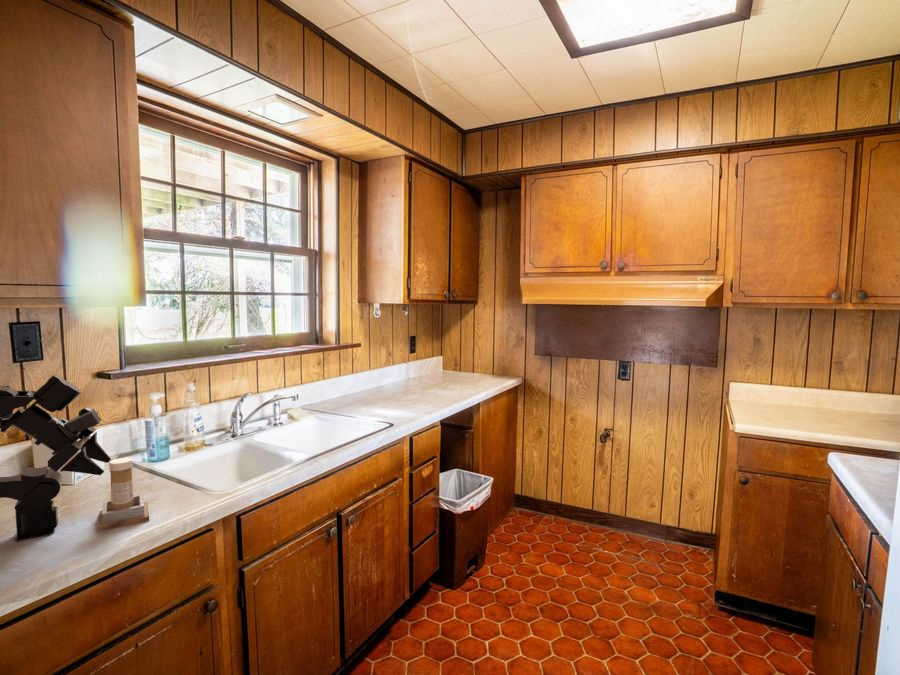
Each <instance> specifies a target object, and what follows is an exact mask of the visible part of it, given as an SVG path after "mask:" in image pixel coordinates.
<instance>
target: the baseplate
mask: <svg viewBox="0 0 900 675" xmlns="http://www.w3.org/2000/svg"><path fill="white" fill-rule="evenodd" d="M134 507H135V506H134ZM102 510H103V509H102ZM102 510H99V512H98V521H97V532H102V531H105V530H109V529H110V530H111V529H114V528H115V527H116V528H120V526H121V527H124V526H129V525H134V523H135V524H139V523H143V522H142V521H144V522H147V521H146V520H148V521H150V512H149V502H148V501H144V515H145V516H141V517H137V518H132V519H127V520H122V521H117V522H113V523H108V524H103V523H102ZM138 522H139V523H138ZM116 528H115V529H116Z"/></svg>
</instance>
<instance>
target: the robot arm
mask: <svg viewBox="0 0 900 675" xmlns="http://www.w3.org/2000/svg"><path fill="white" fill-rule="evenodd" d="M82 393H83V391H82V390H81V389H80V388H79V387H77V386H76V384H73V383H72V382H70V381H68V380H66V379H63V378H62V377H59V376H57V375H56V374H52V375H51V376H50V377H49V378H48V380H47V381H46V382H45V383H44V384H43V385H42V386H41V387H39V388H38V389H37V390H16V389H14V388H13V387H9V386H4V385H3V386H0V418H2V417H5V416H8V415H9V414H11V413H12V414H11V416H9V417H8V418H2V419H0V433H5V432H7V431H8V430H10V429H11V428H12V427H14V428H16V429H17V430H19V431H21V432H22V433H24V434H25V435H27V436H28V437H30V438H32V439H33V440H35V442H34V444H35V445H36V446H40V445H42V446H44V447H46V448H48V449H49V450H51V451H52V452H51V455H52V456H51V457H50V458H49V459H48V460H47V465H45V466H43V467H32V466H28V467H27V466H25V467H24V468H23V470H22V472H21V473H20V474H16V475H12V476H0V499H5V498H6V499H11V500H15V501H16V503H15V505H14V510H15V526H16V535H15V538H14V540H15V542H19V541H23V540H24V541H25V540H28V539H33V538H34V539H35V538H37V537H43V536H48V535H52V534H54V532H55V529H56V528H57V527H58V523H59V517H58V515H59V514H58V506H57V505H56V506H55V503H54V499H55V498H56V497H57V496H58V495H59V493H60V490H61V488H62V487H61V486H62V483H63V476H62V474H61V473H60V472H71V473H80V474H87V475H95V476H101V475H103V474H104V473H105V470H103V468H102V467H100V465H98V464H97V463H96V462H95V461H98V462H103V463H106V464H109V463H110V462H111V461H112V458H111V457H110V456H109V454H108V453H107V452H106V451H105V450H104V449H103V448H102V446H101V445H100V444H99V443H98V439H97V438H98V437H97V436H98V432H97V431H96V430H97V428H95V427H96V426H97V425H99V424H100V422H102V419H101V417H100V415H99V412H98V411H97V410H95V408H93V409H91V408H89V407H88V406H86V407H84V408H82V409H80V410H79V411H78V416H76V417H74V418H72V419H70V420H68V419H66V418H60V419H58V418H57V417H55V416H54V415H52V414H50V413H55V412H56V411H58V412H63V411H64V410H65V409H66V407H68V406H69V405H70V404H71V403H72V402H73V401H75V399H77V398H79V396H80V395H81V394H82ZM33 400H34V402H33V403H32V401H33ZM30 403H32V404H31V405H29V404H30ZM28 405H29V406H28ZM26 406H28V407H27V408H26V409H24V407H26ZM15 409H17V410H16V411H15V412H14V410H15ZM47 411H48V412H47ZM13 412H14V413H13ZM49 412H50V413H49ZM93 460H94V461H93Z"/></svg>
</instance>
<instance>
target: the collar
mask: <svg viewBox="0 0 900 675" xmlns="http://www.w3.org/2000/svg"><path fill="white" fill-rule="evenodd" d="M144 502H145V501H144V494H143V493H141V494H137V495H133V507H130V508H124V509H119V510H114V511H112V503H111V499H110V500H105V501H103V502H102V503H103V504H102V523H103V524H108V523H113V522H117V521H122V520H127V519H132V518H137V517H141V516H145V515H144ZM134 506H135V507H134Z"/></svg>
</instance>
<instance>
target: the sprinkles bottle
mask: <svg viewBox="0 0 900 675" xmlns="http://www.w3.org/2000/svg"><path fill="white" fill-rule="evenodd" d="M108 468H109V473H110V500H111V503H112V511H114V510H119V509H124V508H130V507H133V496H134V485H133V482H134V481H133V472H132V470H133V459H132V458H131V457H120V458H116V459H113V460H112V459H111V460H110V461H109V462H108Z"/></svg>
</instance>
